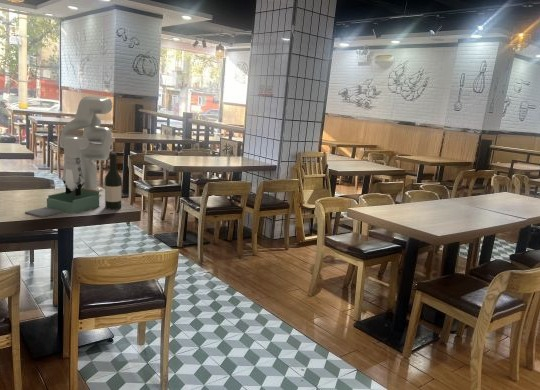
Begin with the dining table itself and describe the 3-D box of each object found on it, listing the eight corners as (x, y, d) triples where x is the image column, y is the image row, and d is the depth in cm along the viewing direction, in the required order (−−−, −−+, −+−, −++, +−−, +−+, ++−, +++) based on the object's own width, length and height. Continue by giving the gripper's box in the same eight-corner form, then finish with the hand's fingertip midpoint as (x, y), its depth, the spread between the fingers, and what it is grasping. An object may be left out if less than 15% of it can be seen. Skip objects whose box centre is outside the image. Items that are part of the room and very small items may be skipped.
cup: (67, 209, 228) (66, 170, 224) (64, 206, 234) (63, 167, 229) (82, 208, 232) (81, 169, 228) (79, 205, 238) (78, 167, 233)
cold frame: (74, 201, 245) (74, 186, 243) (99, 206, 238) (99, 190, 236) (46, 207, 228) (46, 191, 226) (72, 213, 221) (72, 196, 219)
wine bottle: (119, 209, 234) (119, 154, 228) (103, 209, 233) (103, 153, 227) (122, 206, 242) (122, 152, 236) (106, 205, 241) (106, 151, 235)
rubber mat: (45, 208, 226) (45, 207, 226) (62, 212, 222) (62, 210, 222) (24, 213, 216) (24, 211, 215) (42, 217, 211) (42, 215, 211)
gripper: (90, 162, 228) (91, 195, 232) (66, 158, 234) (67, 190, 238) (79, 163, 221) (79, 198, 225) (54, 159, 227) (55, 193, 231)
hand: (73, 194), depth 231 cm, fingers closed on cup, 6 cm apart
